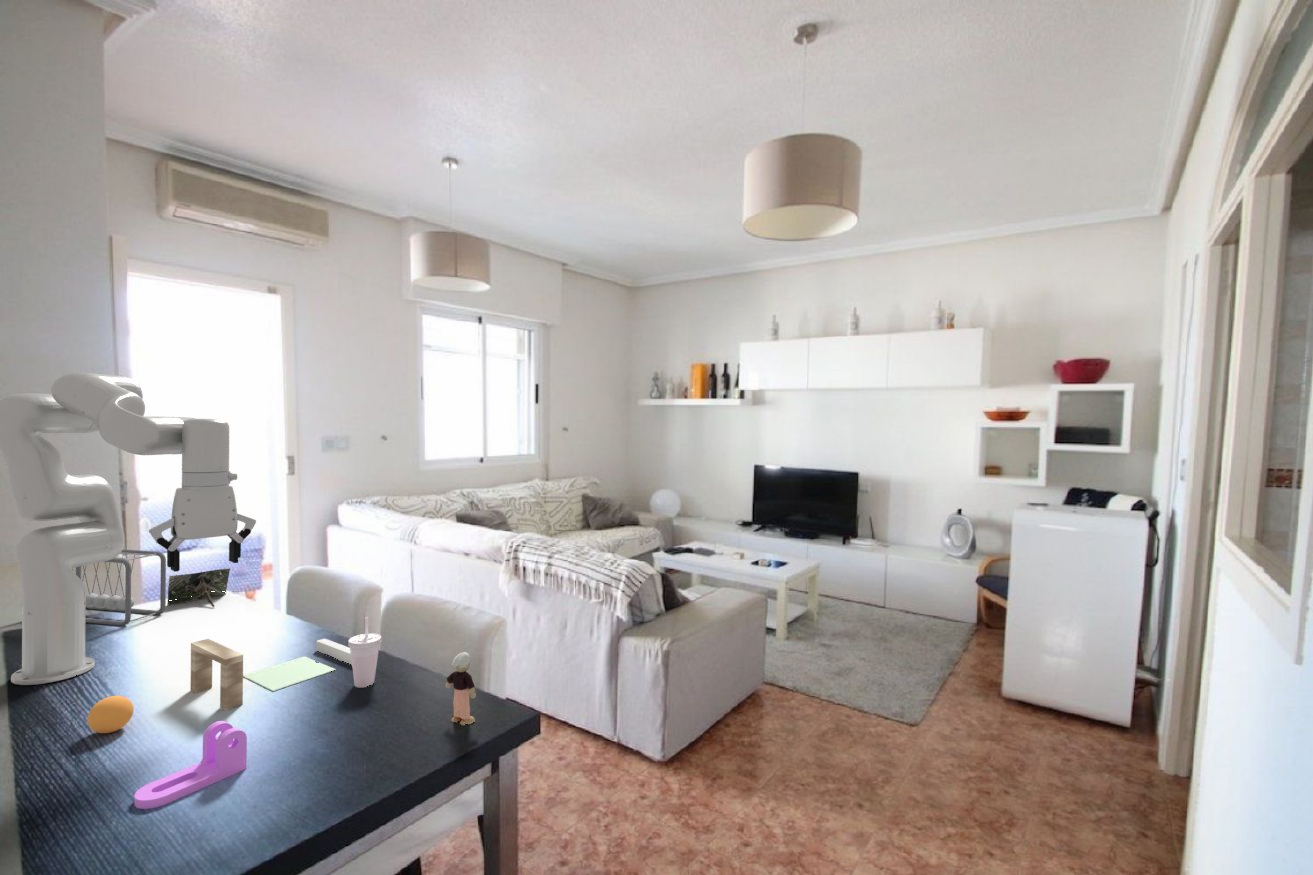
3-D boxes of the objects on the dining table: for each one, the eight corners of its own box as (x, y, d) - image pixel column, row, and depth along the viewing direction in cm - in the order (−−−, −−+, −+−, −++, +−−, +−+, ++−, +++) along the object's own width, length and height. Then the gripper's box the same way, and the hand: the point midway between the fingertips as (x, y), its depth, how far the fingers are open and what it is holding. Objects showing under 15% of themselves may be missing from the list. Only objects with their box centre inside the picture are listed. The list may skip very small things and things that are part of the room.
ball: (82, 733, 103) (82, 699, 103) (126, 719, 109) (126, 686, 108) (94, 743, 100) (94, 708, 100) (139, 728, 105) (139, 695, 105)
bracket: (228, 759, 97) (229, 716, 97) (246, 769, 94) (246, 726, 94) (127, 801, 86) (128, 753, 86) (144, 814, 83) (144, 765, 83)
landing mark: (242, 676, 128) (242, 675, 128) (304, 657, 139) (304, 656, 139) (273, 691, 121) (273, 690, 121) (335, 670, 132) (335, 669, 132)
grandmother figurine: (484, 718, 112) (485, 652, 112) (471, 728, 108) (473, 659, 108) (450, 711, 114) (451, 646, 114) (437, 720, 111) (438, 653, 111)
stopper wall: (316, 651, 143) (316, 640, 143) (324, 648, 144) (324, 638, 144) (354, 666, 134) (355, 655, 134) (363, 663, 136) (363, 652, 136)
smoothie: (387, 678, 129) (388, 614, 128) (369, 691, 122) (370, 623, 122) (359, 676, 129) (360, 612, 129) (340, 689, 123) (341, 622, 123)
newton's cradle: (35, 618, 161) (35, 553, 161) (78, 606, 172) (79, 545, 171) (127, 626, 156) (127, 559, 156) (166, 614, 167) (167, 551, 166)
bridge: (224, 710, 113) (225, 659, 113) (190, 690, 121) (190, 642, 121) (242, 704, 115) (243, 654, 115) (207, 685, 123) (208, 638, 123)
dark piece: (165, 605, 175) (179, 631, 168) (169, 575, 172) (184, 601, 165) (225, 593, 187) (240, 617, 180) (229, 566, 185) (245, 589, 178)
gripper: (249, 477, 127) (248, 556, 128) (144, 481, 114) (144, 570, 114) (262, 479, 123) (261, 561, 123) (155, 484, 109) (154, 577, 109)
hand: (205, 566), depth 119 cm, fingers open, 9 cm apart
